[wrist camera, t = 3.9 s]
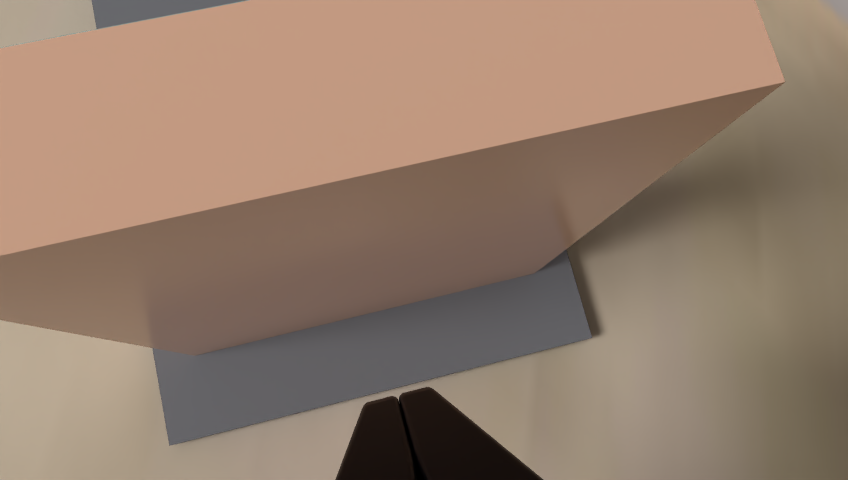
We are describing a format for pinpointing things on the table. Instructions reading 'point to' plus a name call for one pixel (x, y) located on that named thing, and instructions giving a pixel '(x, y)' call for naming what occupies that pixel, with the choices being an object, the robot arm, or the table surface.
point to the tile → (341, 153)
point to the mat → (355, 331)
